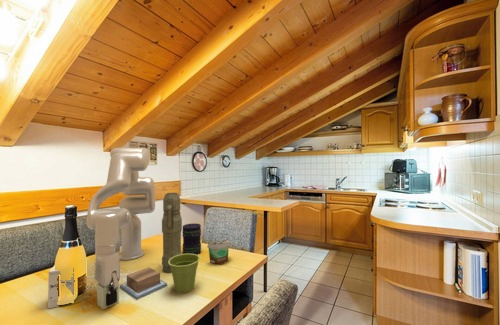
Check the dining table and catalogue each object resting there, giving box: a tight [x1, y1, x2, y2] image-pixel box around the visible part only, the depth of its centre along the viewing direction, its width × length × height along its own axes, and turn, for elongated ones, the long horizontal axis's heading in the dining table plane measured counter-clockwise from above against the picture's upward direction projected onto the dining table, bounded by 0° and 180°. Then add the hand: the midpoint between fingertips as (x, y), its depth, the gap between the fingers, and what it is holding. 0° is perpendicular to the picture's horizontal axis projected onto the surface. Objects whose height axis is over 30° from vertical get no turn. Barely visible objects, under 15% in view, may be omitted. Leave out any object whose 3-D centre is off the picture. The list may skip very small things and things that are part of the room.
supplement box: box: [47, 264, 75, 309], centre depth 82 cm, size 7×7×13 cm
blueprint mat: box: [119, 279, 168, 301], centre depth 91 cm, size 14×12×1 cm
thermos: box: [161, 192, 183, 274], centre depth 107 cm, size 9×12×35 cm
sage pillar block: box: [96, 281, 120, 310], centre depth 80 cm, size 5×5×7 cm
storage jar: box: [182, 223, 202, 256], centre depth 126 cm, size 10×10×15 cm
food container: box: [206, 237, 231, 266], centre depth 113 cm, size 12×6×10 cm, turn 131°
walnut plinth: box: [126, 266, 161, 293], centre depth 91 cm, size 9×9×4 cm
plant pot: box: [168, 253, 201, 294], centre depth 89 cm, size 12×12×11 cm
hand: (108, 300), depth 80 cm, fingers closed on sage pillar block, 5 cm apart
